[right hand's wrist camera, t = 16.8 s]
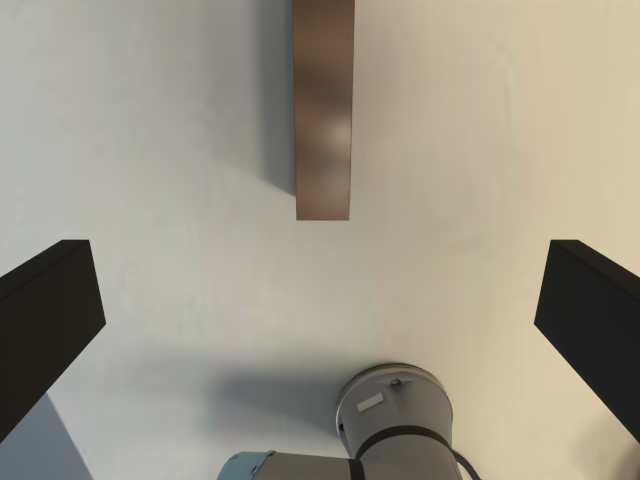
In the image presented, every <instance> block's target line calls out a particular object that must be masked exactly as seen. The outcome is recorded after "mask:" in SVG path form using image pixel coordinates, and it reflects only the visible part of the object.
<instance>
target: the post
mask: <svg viewBox="0 0 640 480" xmlns="http://www.w3.org/2000/svg"><path fill="white" fill-rule="evenodd" d="M354 11H355V0H292V13H293V63H294V113H295V163H296V214H297V220H349V210H350V170H351V131H352V91H353V51H354Z"/></svg>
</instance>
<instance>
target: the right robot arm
mask: <svg viewBox="0 0 640 480" xmlns="http://www.w3.org/2000/svg"><path fill="white" fill-rule="evenodd" d="M105 325H106V321H105V316H104V311H103V306H102V301H101V296H100V291H99V286H98V281H97V276H96V271H95V266H94V261H93V256H92V251H91V246H90V242H89V240H61V241H59V242H58V243H56V244H54V245H53V246H51V247H49V248H48V249H46V250H44V251H43V252H41V253H40V254H38V255H36V256H35V257H33V258H31V259H30V260H28V261H26V262H25V263H23V264H22V265H20V266H18V267H17V268H15V269H13V270H12V271H10V272H8V273H7V274H5V275H4V276H2V277H0V443H1V442H2V441H3V440H4V439H5V438H6V437H7V435H8V434H9V433H10V432H11V431H12V430H13V429H14V428H15V426H16V425H17V424H18V423H19V422H20V421H21V420H22V418H23V417H24V416H25V415H26V414H27V413H28V412H29V411H30V409H31V408H32V407H33V406H34V405H35V404H36V403H37V402H38V400H39V399H40V398H41V397H42V396H43V395H44V394H45V392H46V391H47V390H48V389H49V388H50V387H51V386H52V385H53V383H54V382H55V381H56V380H57V379H58V378H59V377H60V376H61V374H62V373H63V372H64V371H65V370H66V369H67V368H68V366H69V365H70V364H71V363H72V362H73V361H74V360H75V359H76V357H77V356H78V355H79V354H80V353H81V352H82V351H83V350H84V348H85V347H86V346H87V345H88V344H89V343H90V342H91V340H92V339H93V338H94V337H95V336H96V335H97V334H98V333H99V331H100V330H101V329H102V328H103V327H104V326H105ZM534 325H535V326H536V327H537V328H538V329H539V330H540V331H541V333H542V334H543V335H544V336H545V337H546V338H547V339H548V340H549V342H550V343H551V344H552V345H553V346H554V347H555V348H556V350H557V351H558V352H559V353H560V354H561V355H562V356H563V357H564V359H565V360H566V361H567V362H568V363H569V364H570V365H571V366H572V368H573V369H574V370H575V371H576V372H577V373H578V374H579V376H580V377H581V378H582V379H583V380H584V381H585V382H586V383H587V385H588V386H589V387H590V388H591V389H592V390H593V391H594V392H595V394H596V395H597V396H598V397H599V398H600V399H601V400H602V402H603V403H604V404H605V405H606V406H607V407H608V408H609V409H610V411H611V412H612V413H613V414H614V415H615V416H616V417H617V418H618V420H619V421H620V422H621V423H622V424H623V425H624V426H625V428H626V429H627V430H628V431H629V432H630V433H631V434H632V435H633V437H634V438H635V439H636V440H637V441H638V442H639V443H640V277H638V276H636V275H635V274H633V273H632V272H630V271H628V270H627V269H625V268H623V267H622V266H620V265H618V264H617V263H615V262H614V261H612V260H610V259H609V258H607V257H605V256H604V255H602V254H600V253H599V252H597V251H596V250H594V249H592V248H591V247H589V246H587V245H586V244H584V243H582V242H581V241H579V240H551V242H550V246H549V251H548V256H547V261H546V266H545V271H544V276H543V281H542V286H541V291H540V296H539V301H538V306H537V311H536V316H535V321H534ZM452 420H453V412H452V407H451V404H450V401H449V399H448V396H447V394H446V391H445V390H444V388H443V386H442V385H441V383H440V382H439V381H438V380H437V379H436V378H435V377H433V376H432V375H431V374H429V373H428V372H426V371H424V370H422V369H419V368H416V367H413V366H408V365H401V364H391V365H383V366H378V367H375V368H372V369H369V370H367V371H365V372H363V373H361V374H359V375H358V376H356V377H355V378H354V379H352V380H351V381H350V382H349V383H348V384H347V385H346V386H345V388H344V389H343V391H342V392H341V394H340V396H339V398H338V401H337V405H336V425H337V431H338V434H339V437H340V439H341V440H342V443H343V445H344V447H345V449H346V451H347V453H348V455H349V457H350V459H347V458H335V457H323V456H312V455H300V454H289V453H277V452H276V451H273V450H271V451H268V452H240V453H237V454H235V455H234V456H232V457H231V458H230V459H229V460H228V461H227V462H226V464H225V465H224V466H223V468H222V470H221V472H220V474H219V476H218V478H217V480H463V479H462V476H461V473H460V471H459V468H458V465H457V462H459V463H460V464H461V465H462V466H464V467H465V469H466V470H467V471H468V473H469V474H470V476H471V477H472V479H473V480H481V479H480V478H479V477H478V475H477V474H476V472H475V471H474V469H473V468H472V466H471V465H470V464H469V463H468V462H467V461H466V460H465V459H464V458H463V457H461V456H460V455H458V454H455V453H453V452H452V449H451V446H452ZM456 461H457V462H456Z"/></svg>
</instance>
